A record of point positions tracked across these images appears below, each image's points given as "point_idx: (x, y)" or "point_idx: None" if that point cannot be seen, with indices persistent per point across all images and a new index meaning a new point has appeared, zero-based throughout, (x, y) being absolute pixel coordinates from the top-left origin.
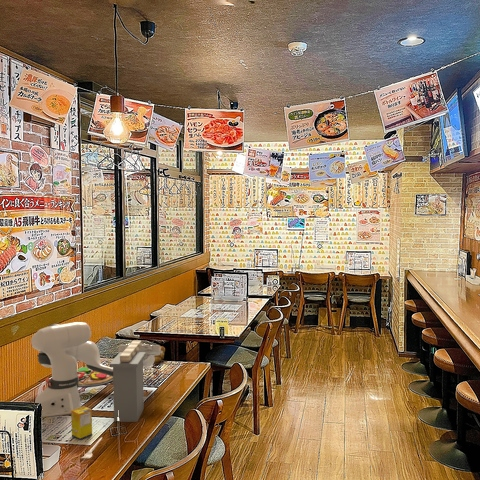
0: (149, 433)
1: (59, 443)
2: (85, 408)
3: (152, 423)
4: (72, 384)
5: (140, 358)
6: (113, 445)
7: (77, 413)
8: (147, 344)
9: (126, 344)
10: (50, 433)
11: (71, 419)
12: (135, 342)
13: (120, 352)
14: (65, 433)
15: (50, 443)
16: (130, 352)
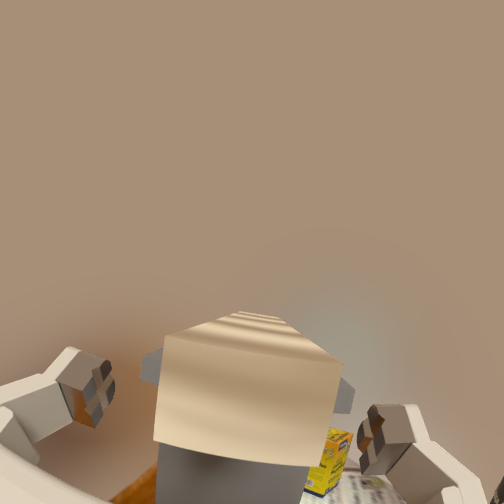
0: (152, 468)
1: (344, 470)
2: None
3: (135, 498)
4: (493, 500)
5: None
6: None
7: (329, 427)
8: (84, 352)
9: (402, 405)
10: (392, 490)
11: (347, 452)
12: (257, 335)
13: (346, 387)
14: (360, 492)
15: (360, 469)
16: (242, 313)
